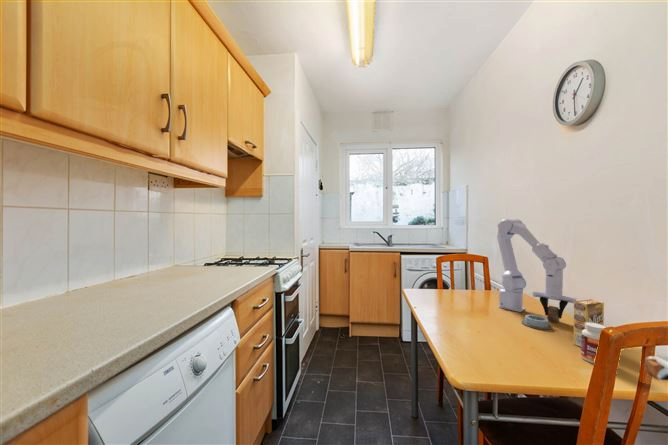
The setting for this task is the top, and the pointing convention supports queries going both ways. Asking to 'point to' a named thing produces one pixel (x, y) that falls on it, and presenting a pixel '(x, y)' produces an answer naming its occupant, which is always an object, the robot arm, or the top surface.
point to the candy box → (586, 316)
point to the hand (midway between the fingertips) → (553, 316)
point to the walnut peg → (553, 314)
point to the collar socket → (536, 322)
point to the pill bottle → (590, 341)
